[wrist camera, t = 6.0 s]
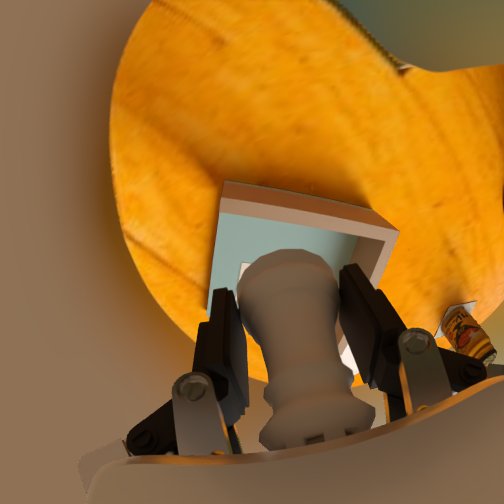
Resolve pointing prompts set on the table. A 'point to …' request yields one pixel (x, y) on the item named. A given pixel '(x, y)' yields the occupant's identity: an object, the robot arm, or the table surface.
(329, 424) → the rook chess piece
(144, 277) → the table surface
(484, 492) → the robot arm
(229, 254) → the corner arena
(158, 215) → the table surface
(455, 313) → the condiment
